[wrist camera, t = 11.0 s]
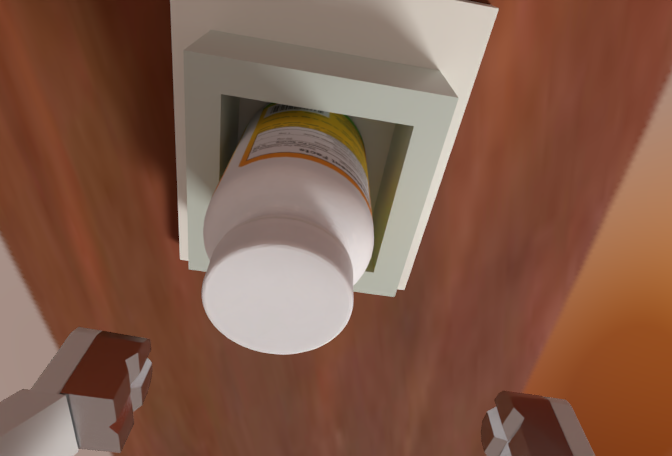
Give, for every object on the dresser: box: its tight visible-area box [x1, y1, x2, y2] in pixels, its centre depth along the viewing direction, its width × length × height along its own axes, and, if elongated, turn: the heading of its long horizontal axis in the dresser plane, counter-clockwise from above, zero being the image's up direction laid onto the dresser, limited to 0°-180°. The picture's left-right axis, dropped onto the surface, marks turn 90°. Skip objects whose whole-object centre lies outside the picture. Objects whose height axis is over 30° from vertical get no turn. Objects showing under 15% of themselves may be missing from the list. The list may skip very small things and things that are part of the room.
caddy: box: [170, 0, 499, 297], centre depth 19 cm, size 14×12×4 cm
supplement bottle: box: [202, 102, 374, 354], centre depth 16 cm, size 5×5×10 cm
